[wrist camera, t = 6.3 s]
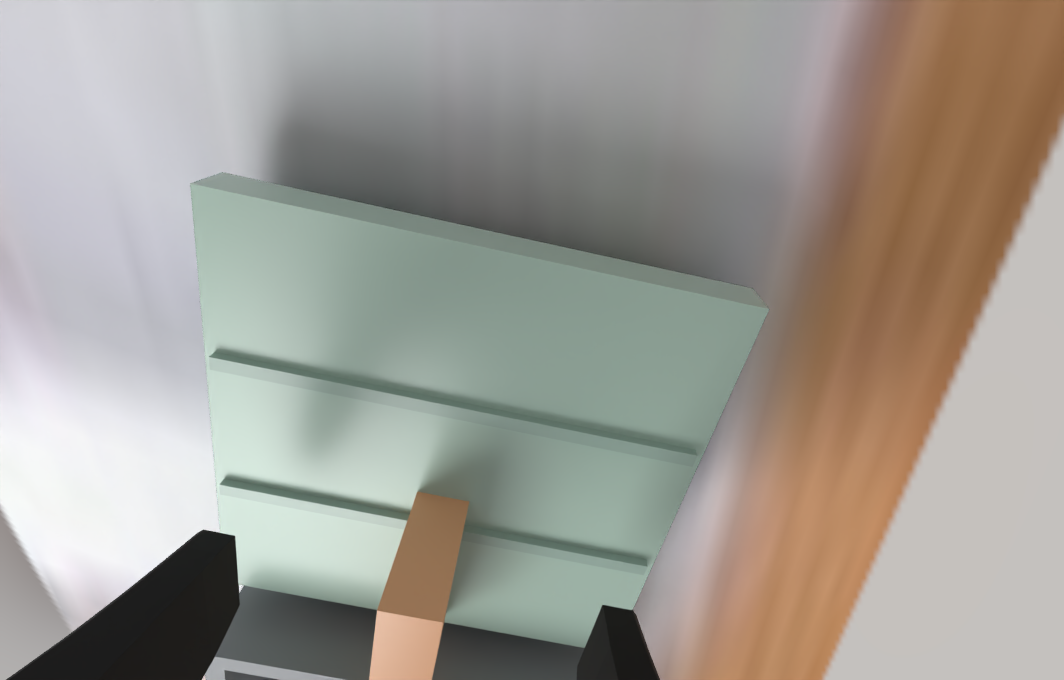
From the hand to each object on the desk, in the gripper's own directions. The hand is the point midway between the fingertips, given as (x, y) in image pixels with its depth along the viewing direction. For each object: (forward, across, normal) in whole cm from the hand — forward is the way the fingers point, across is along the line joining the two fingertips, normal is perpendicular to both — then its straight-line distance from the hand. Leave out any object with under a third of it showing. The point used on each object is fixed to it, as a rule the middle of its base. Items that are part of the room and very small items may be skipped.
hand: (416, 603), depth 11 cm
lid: (+4, 0, -2) cm, 4 cm away
